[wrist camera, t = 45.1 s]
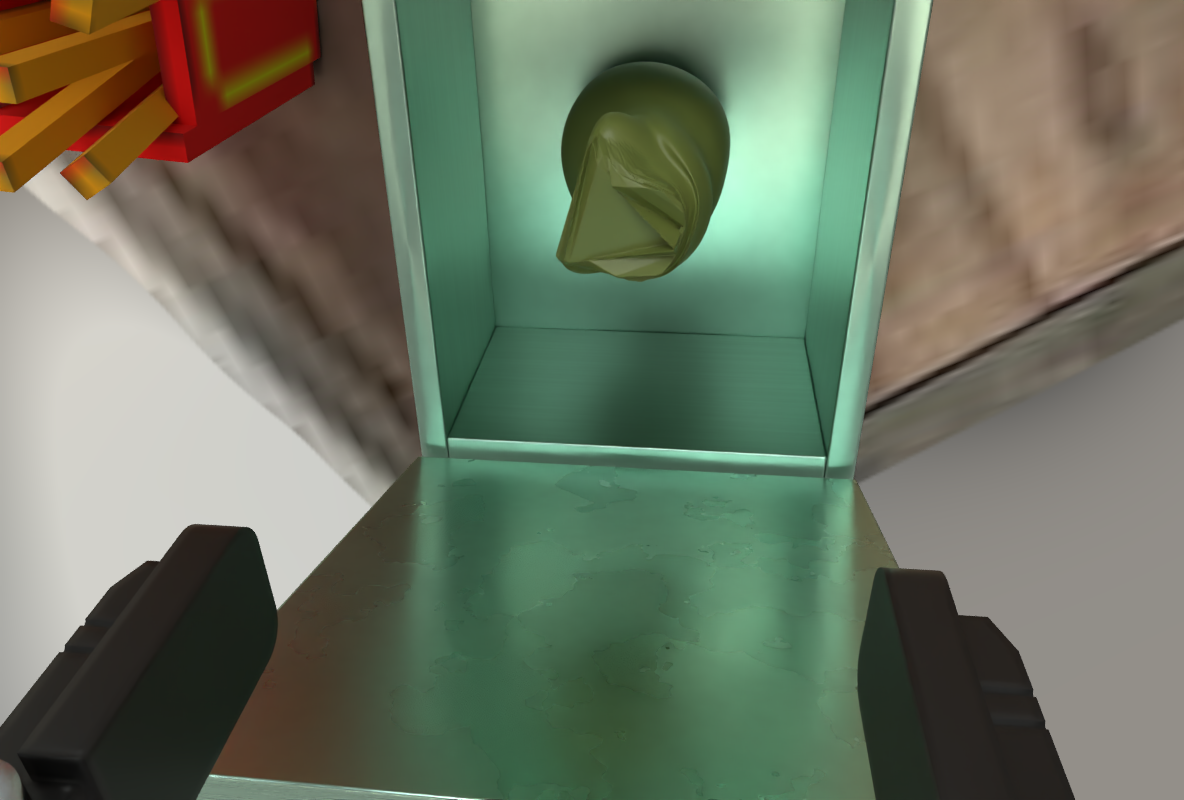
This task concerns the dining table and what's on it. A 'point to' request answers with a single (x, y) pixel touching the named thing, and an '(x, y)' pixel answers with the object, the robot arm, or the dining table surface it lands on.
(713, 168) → the pear
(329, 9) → the dining table surface
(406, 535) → the freezer lid
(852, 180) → the box
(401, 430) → the dining table surface
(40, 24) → the french fries container
